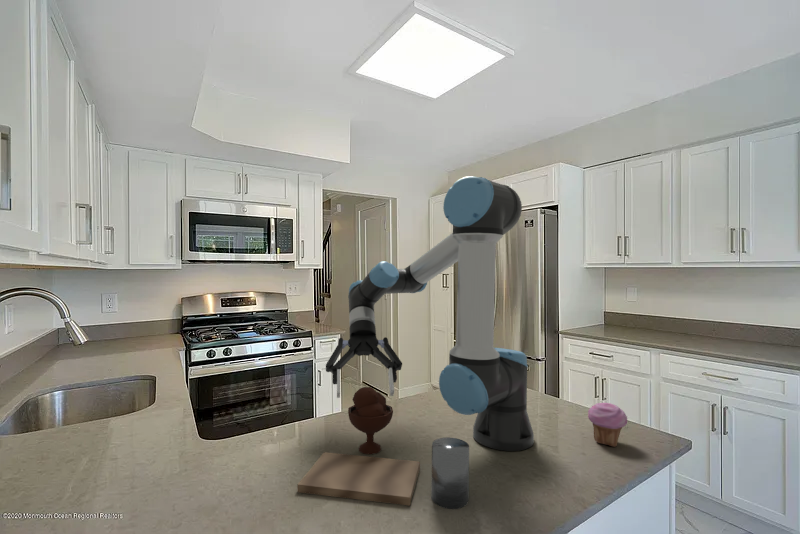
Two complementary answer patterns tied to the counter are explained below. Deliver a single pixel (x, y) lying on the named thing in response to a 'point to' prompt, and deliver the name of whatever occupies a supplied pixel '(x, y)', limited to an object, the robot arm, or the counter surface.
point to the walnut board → (362, 478)
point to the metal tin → (450, 473)
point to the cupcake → (607, 422)
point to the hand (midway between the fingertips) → (365, 394)
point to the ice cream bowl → (369, 416)
